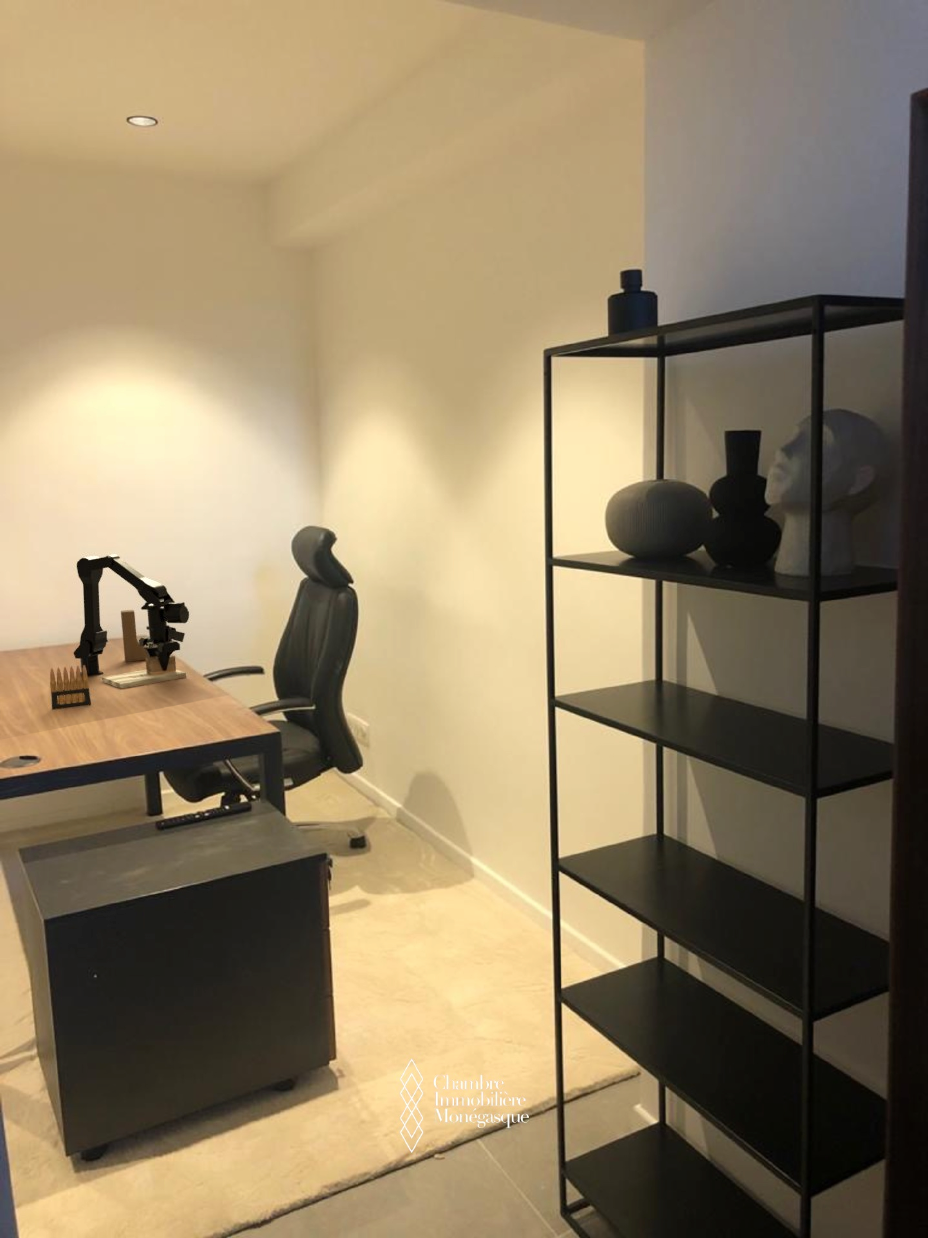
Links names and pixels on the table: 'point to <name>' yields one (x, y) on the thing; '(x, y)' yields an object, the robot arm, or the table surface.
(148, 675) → the pine board
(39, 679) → the table surface
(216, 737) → the table surface
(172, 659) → the block
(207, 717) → the table surface
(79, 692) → the ammunition clip
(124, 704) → the table surface
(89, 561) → the robot arm
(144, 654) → the wooden block
